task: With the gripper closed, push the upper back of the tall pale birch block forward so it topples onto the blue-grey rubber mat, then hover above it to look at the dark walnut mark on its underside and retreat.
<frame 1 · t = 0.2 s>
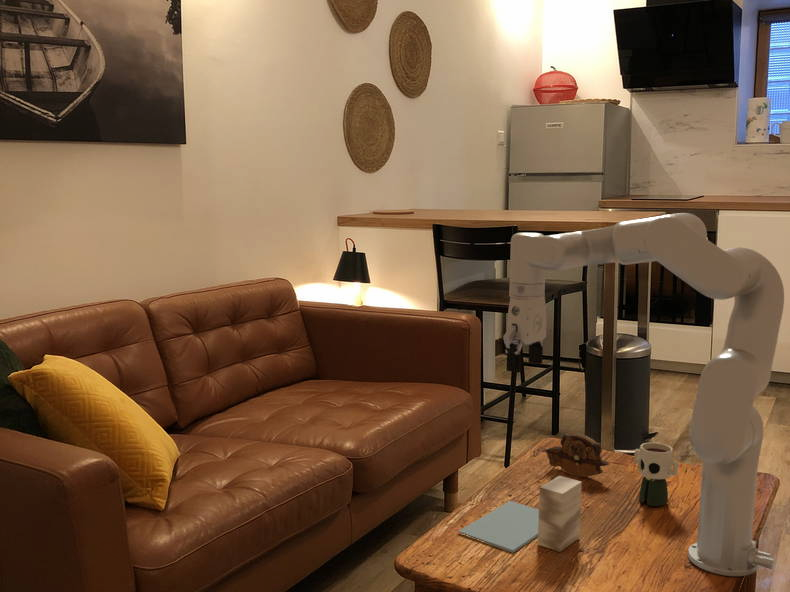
hand: (524, 367, 179), 31 cm above the table, tool pointing down, fingers open, 9 cm apart
birch block: (558, 542, 164), on the table
character mug: (653, 503, 184), on the table
grey mat: (511, 526, 171), on the table
wooden carving: (576, 476, 200), on the table
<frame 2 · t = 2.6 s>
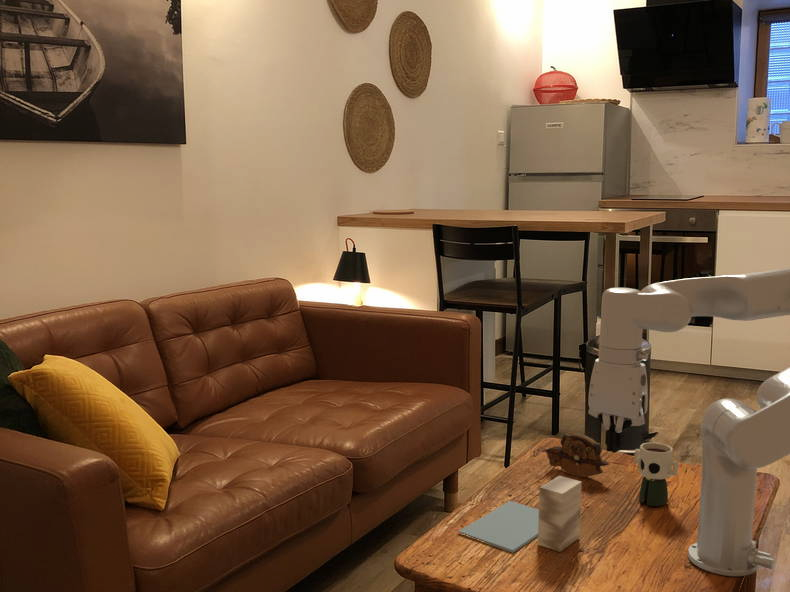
hand: (614, 449, 154), 22 cm above the table, tool pointing down, fingers closed
nothing on the table moved.
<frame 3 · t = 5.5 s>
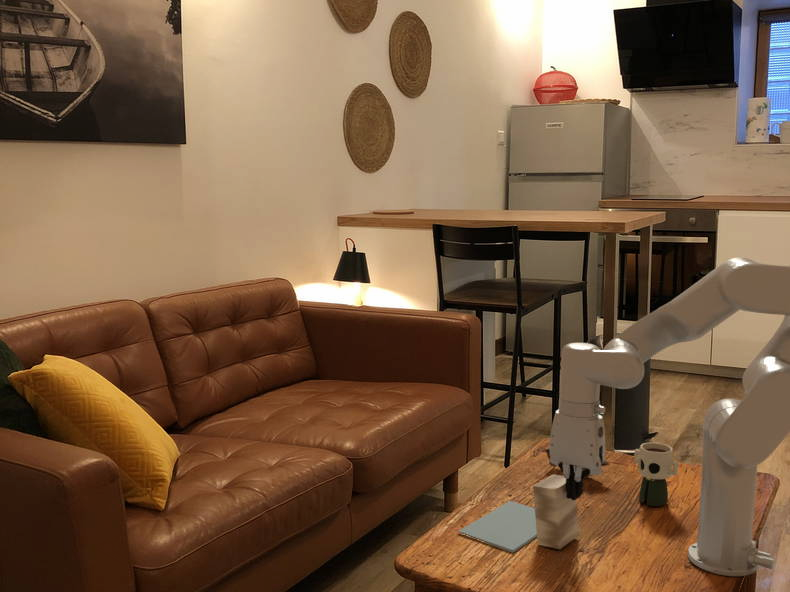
hand: (573, 497, 161), 10 cm above the table, tool pointing down, fingers closed
birch block: (558, 540, 164), on the table, tilted 7°, touching gripper
everything else where it was.
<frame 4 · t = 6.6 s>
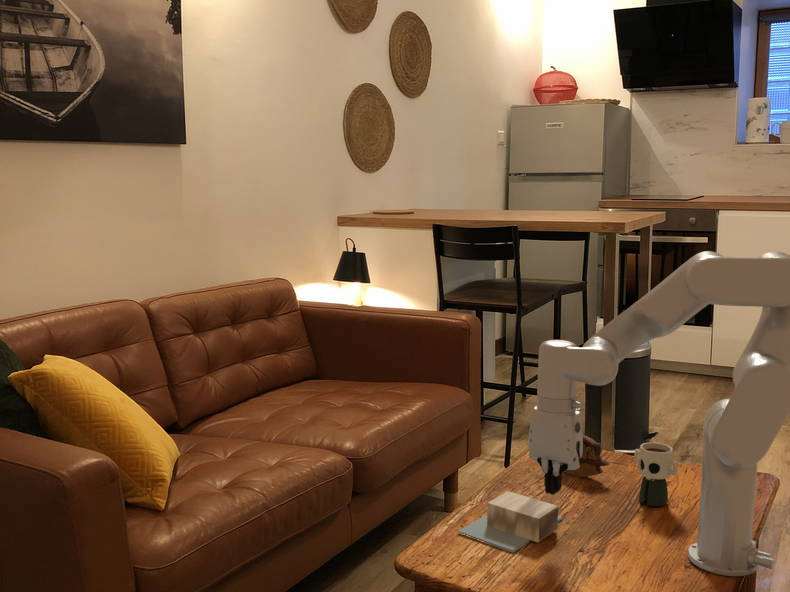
hand: (552, 491, 164), 10 cm above the table, tool pointing down, fingers closed
birch block: (549, 524, 165), point 3 cm above the table, tilted 90°, touching grey mat
everything else where it was.
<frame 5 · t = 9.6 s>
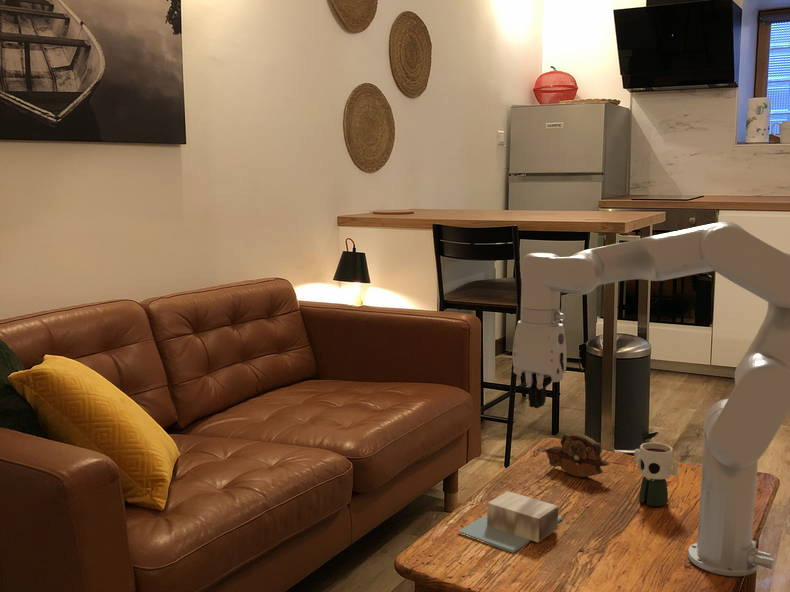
hand: (536, 406, 164), 27 cm above the table, tool pointing down, fingers closed
nothing on the table moved.
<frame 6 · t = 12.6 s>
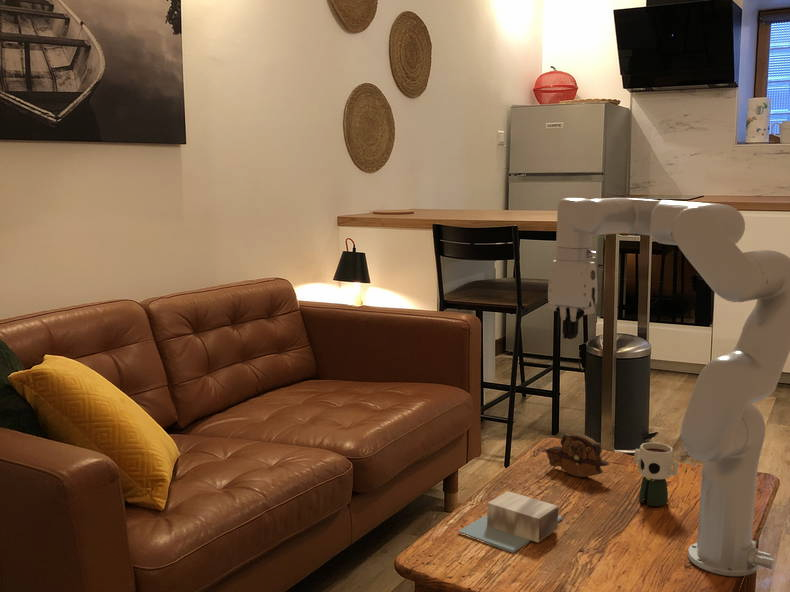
hand: (570, 337, 181), 37 cm above the table, tool pointing down, fingers closed
nothing on the table moved.
at the end: birch block tilted 90°; birch block touching grey mat; birch block inside the target area (0.8 cm from its centre), point 3.1 cm above the table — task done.
